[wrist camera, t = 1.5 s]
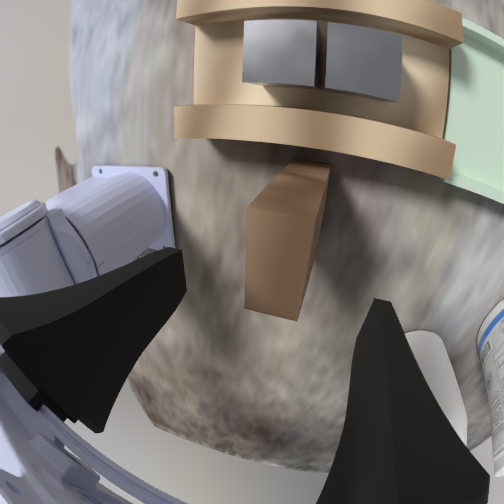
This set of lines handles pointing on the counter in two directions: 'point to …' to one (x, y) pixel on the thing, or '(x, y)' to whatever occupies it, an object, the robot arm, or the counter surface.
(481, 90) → the tray
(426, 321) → the counter surface
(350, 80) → the dark grey cube
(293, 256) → the brown wooden block
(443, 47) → the slot board
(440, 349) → the cup
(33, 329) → the robot arm
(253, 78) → the grey cube
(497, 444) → the supplement tub
